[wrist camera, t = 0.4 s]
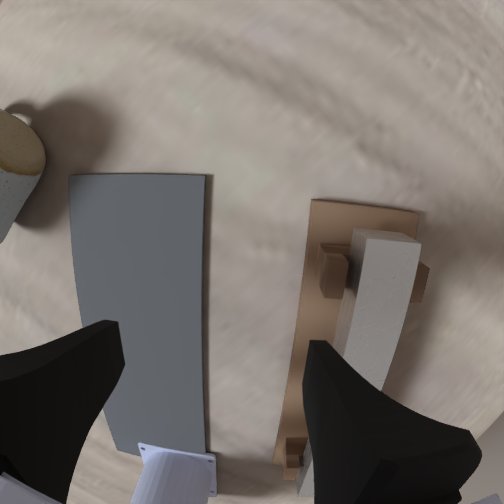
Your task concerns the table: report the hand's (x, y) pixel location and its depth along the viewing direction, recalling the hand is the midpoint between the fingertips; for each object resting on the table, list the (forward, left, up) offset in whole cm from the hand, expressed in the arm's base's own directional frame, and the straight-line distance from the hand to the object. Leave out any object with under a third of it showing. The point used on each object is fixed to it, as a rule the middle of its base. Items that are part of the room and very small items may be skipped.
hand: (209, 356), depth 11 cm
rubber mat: (-8, +7, -10) cm, 14 cm away
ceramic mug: (+7, +19, -10) cm, 23 cm away
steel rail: (-7, -8, -7) cm, 13 cm away
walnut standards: (-7, -8, -10) cm, 14 cm away
